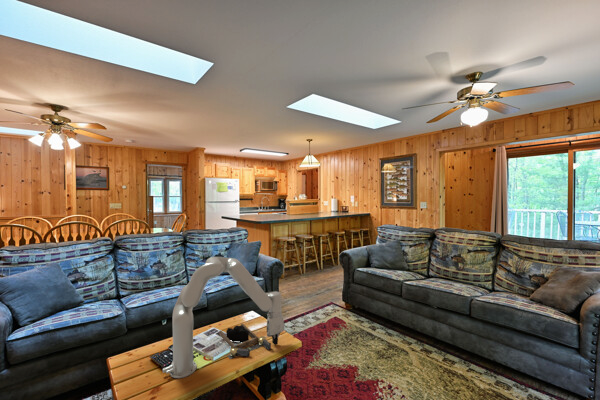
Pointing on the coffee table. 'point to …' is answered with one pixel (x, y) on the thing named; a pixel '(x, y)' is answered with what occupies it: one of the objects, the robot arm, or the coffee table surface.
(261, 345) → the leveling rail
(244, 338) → the film camera
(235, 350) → the lever left
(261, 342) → the lever right
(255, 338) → the dock
